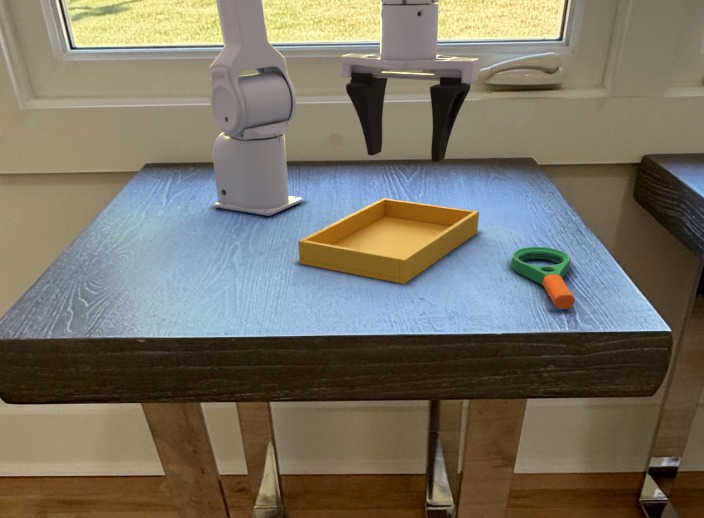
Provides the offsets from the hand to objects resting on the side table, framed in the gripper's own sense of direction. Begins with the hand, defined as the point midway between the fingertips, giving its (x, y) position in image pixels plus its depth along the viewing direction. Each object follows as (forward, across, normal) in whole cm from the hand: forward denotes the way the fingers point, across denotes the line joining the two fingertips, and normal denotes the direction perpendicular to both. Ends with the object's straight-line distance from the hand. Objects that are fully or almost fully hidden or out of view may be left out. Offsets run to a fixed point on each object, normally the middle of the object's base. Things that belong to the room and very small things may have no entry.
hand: (405, 156), depth 77 cm
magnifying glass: (+10, +18, -5) cm, 21 cm away
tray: (+10, -1, -1) cm, 10 cm away
